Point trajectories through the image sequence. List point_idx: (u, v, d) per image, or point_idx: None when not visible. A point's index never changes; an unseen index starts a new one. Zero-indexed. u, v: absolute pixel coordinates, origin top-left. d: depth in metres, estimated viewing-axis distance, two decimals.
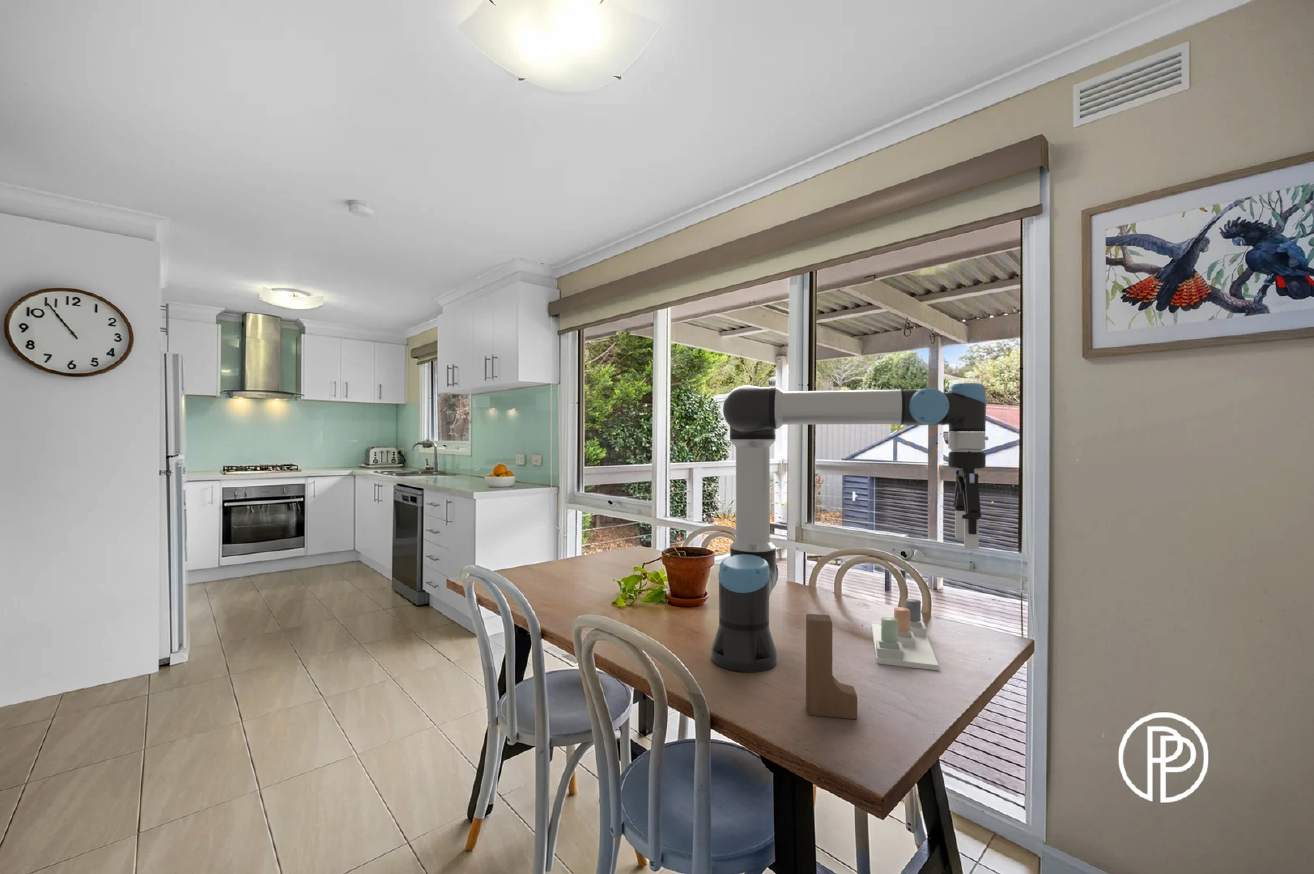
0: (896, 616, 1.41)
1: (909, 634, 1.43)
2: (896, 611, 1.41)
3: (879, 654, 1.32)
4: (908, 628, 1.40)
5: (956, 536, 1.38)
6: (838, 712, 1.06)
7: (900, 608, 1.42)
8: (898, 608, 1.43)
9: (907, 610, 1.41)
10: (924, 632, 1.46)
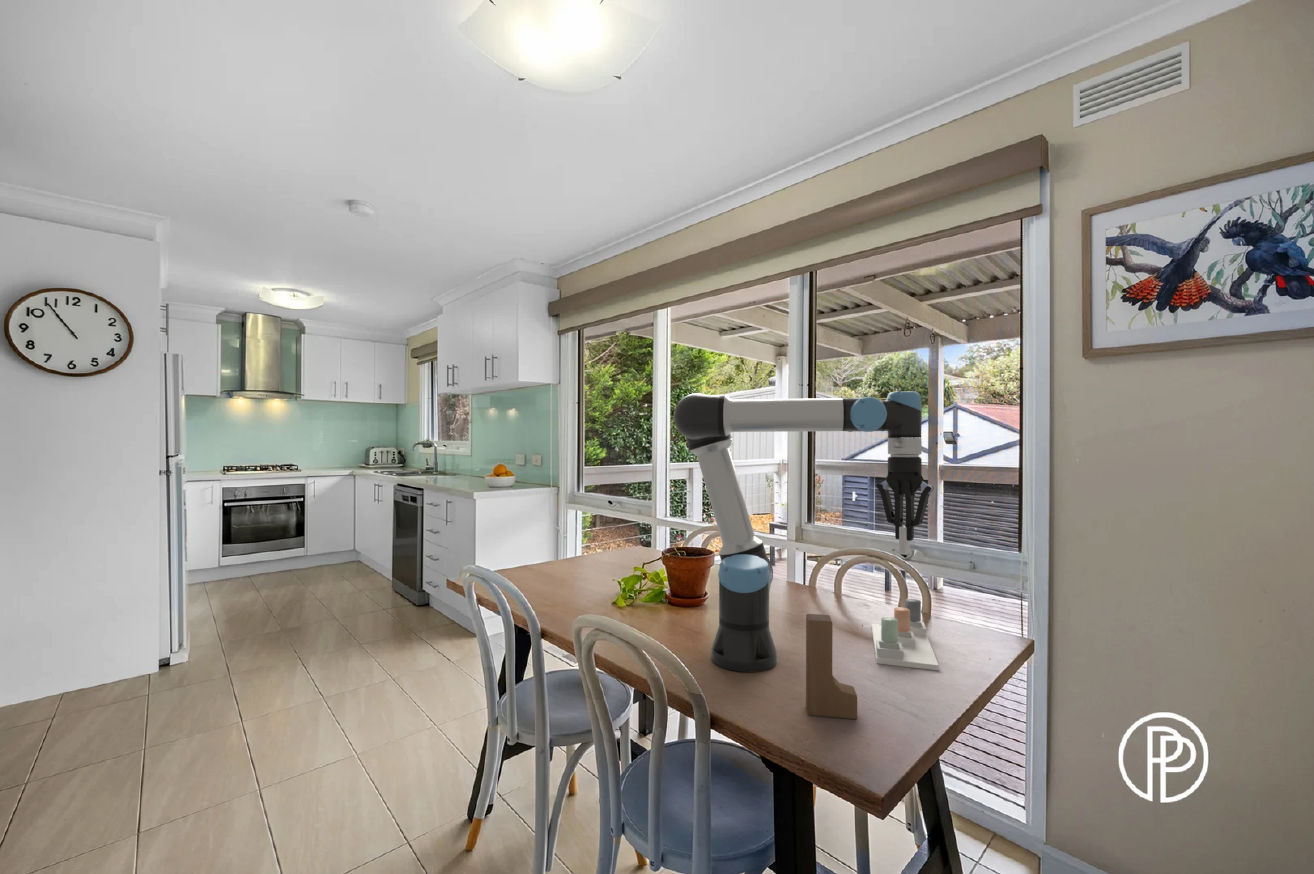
0: (896, 616, 1.41)
1: (909, 634, 1.43)
2: (896, 611, 1.41)
3: (879, 654, 1.32)
4: (908, 628, 1.40)
5: None
6: (838, 712, 1.06)
7: (900, 608, 1.42)
8: (898, 608, 1.43)
9: (907, 610, 1.41)
10: (924, 632, 1.46)
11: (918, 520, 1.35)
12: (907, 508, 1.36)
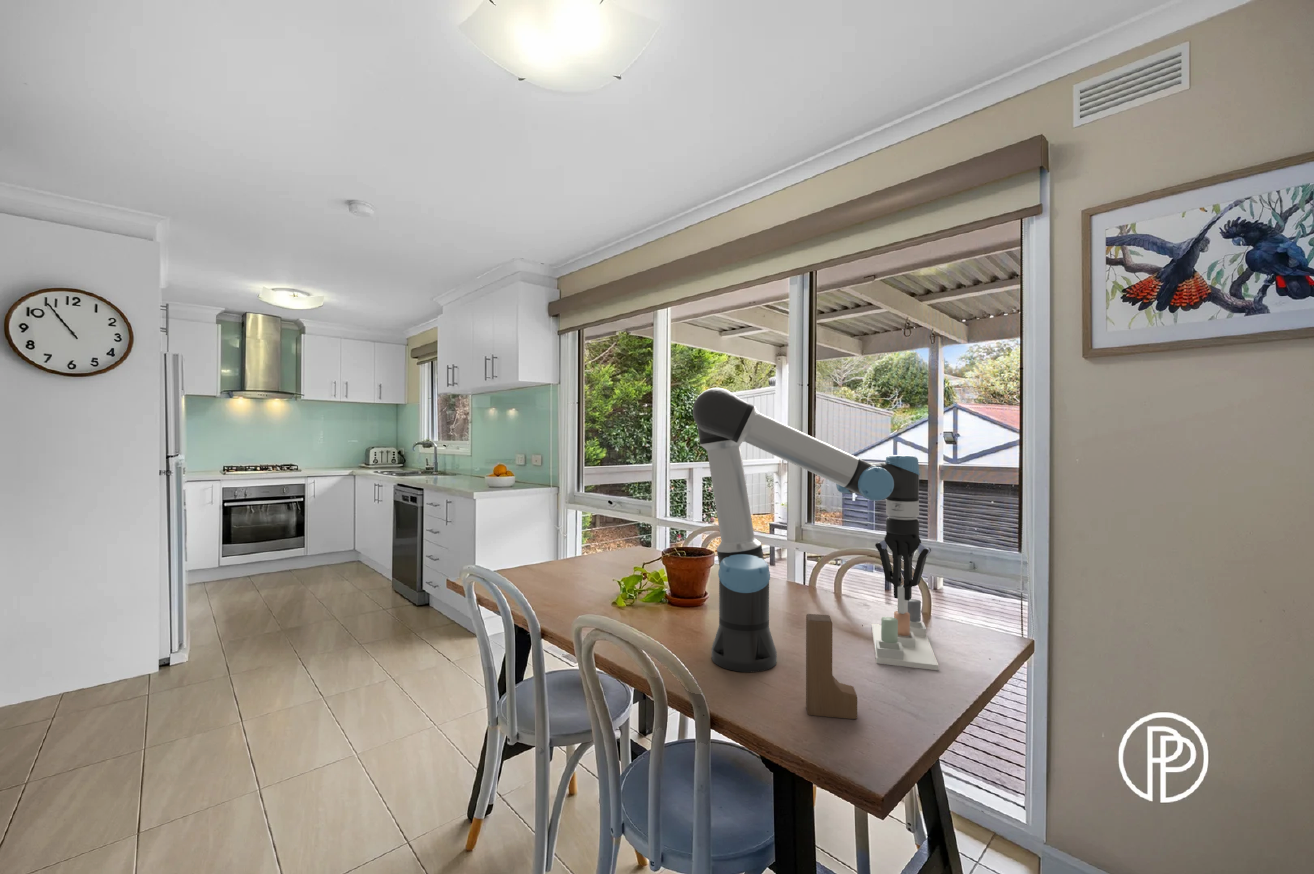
0: None
1: None
2: (896, 615, 1.41)
3: (879, 654, 1.32)
4: (908, 632, 1.40)
5: None
6: (838, 712, 1.06)
7: None
8: None
9: (907, 614, 1.41)
10: (924, 632, 1.46)
11: (916, 581, 1.38)
12: (905, 569, 1.40)
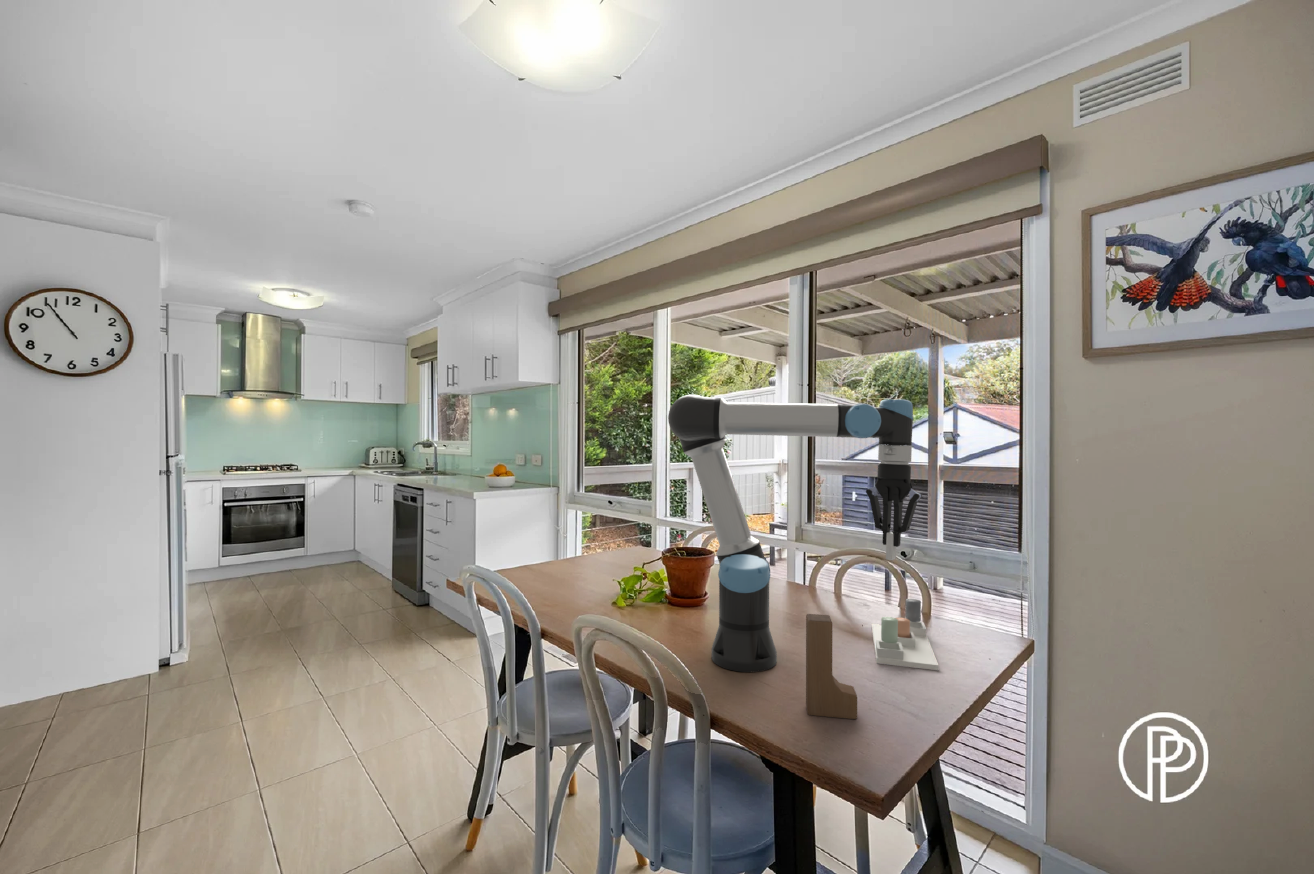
0: None
1: None
2: None
3: (879, 654, 1.32)
4: None
5: None
6: (838, 712, 1.06)
7: (900, 619, 1.42)
8: (898, 618, 1.43)
9: (907, 620, 1.41)
10: (924, 632, 1.46)
11: (905, 527, 1.37)
12: (895, 514, 1.38)
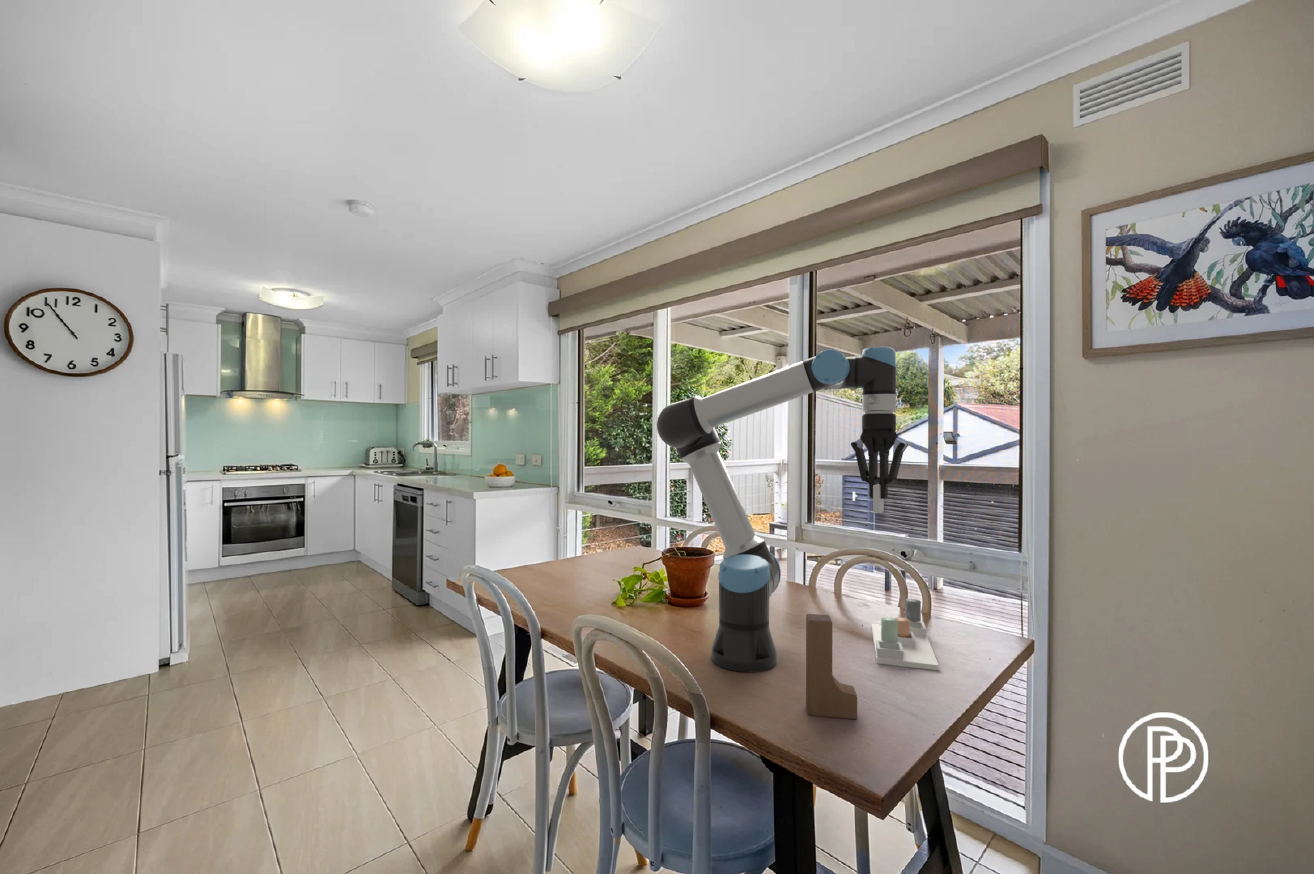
0: None
1: None
2: None
3: (879, 654, 1.32)
4: None
5: None
6: (838, 712, 1.06)
7: (900, 619, 1.42)
8: (898, 618, 1.43)
9: (907, 620, 1.41)
10: (924, 632, 1.46)
11: (892, 477, 1.32)
12: (881, 466, 1.34)
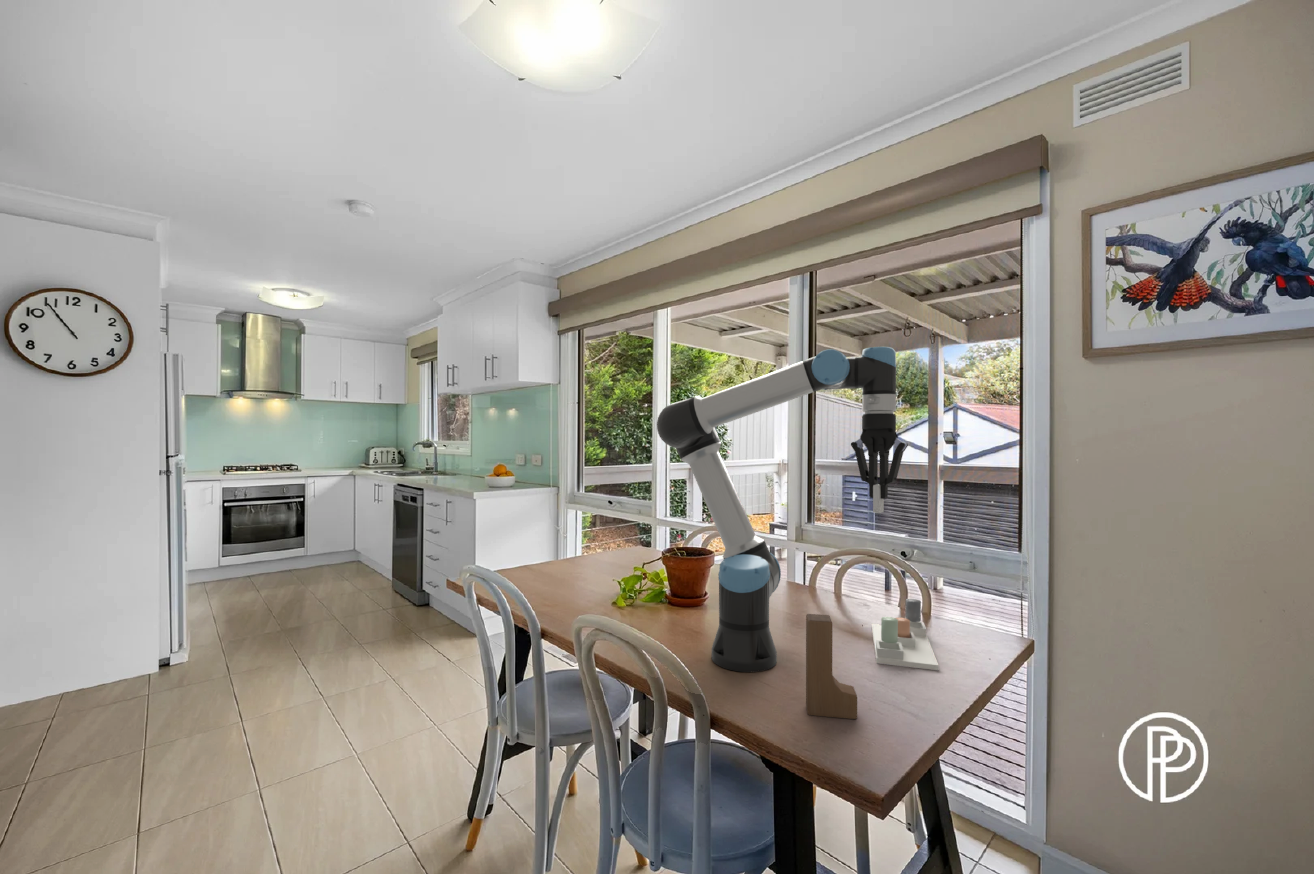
0: None
1: None
2: None
3: (879, 654, 1.32)
4: None
5: None
6: (838, 712, 1.06)
7: (900, 619, 1.42)
8: (898, 618, 1.43)
9: (907, 620, 1.41)
10: (924, 632, 1.46)
11: (892, 477, 1.32)
12: (881, 466, 1.34)
